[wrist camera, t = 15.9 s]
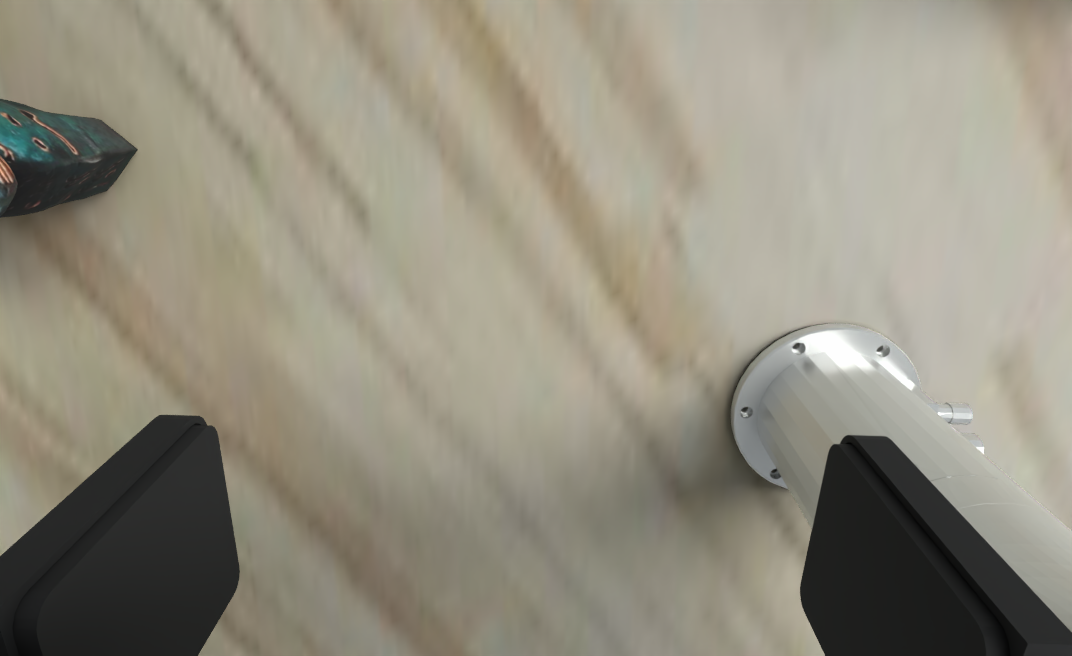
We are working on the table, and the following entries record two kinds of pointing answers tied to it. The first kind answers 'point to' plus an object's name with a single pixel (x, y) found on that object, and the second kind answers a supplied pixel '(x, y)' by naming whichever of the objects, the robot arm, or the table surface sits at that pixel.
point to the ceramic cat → (55, 158)
